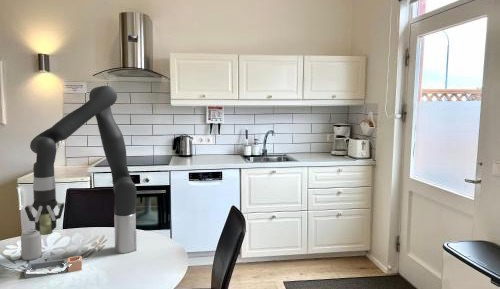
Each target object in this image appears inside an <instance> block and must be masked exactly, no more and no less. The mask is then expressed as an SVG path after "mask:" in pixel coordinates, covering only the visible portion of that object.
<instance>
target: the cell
mask: <svg viewBox="0 0 500 289" xmlns="http://www.w3.org/2000/svg"><path fill="white" fill-rule="evenodd" d="M39 229H40V235H41V236H47V235H51V234H53V231H54V230H52V218H51V216H50V214H49V213H43V214H40V217H39Z"/></svg>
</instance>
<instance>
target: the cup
mask: <svg viewBox="0 0 500 289" xmlns="http://www.w3.org/2000/svg"><path fill="white" fill-rule="evenodd" d="M82 257H83V256H81V255H77V256H70V257H68V258H67V259H68V264H72V265H71V266H70V267H69V268H68V267H67V272H69V273H71V272H78V271H79V272H80V271H81V270H83V268H82V266H83V258H82ZM79 258H80V260H77V259H79ZM75 260H77V261H75Z"/></svg>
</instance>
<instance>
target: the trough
mask: <svg viewBox="0 0 500 289" xmlns="http://www.w3.org/2000/svg"><path fill="white" fill-rule="evenodd" d="M67 262H68V258H63V259H54V260H46V261H40V262H32V263H27V266H26V269H27V270H30V269H31V268H32V269H31V270H38V269H42V268H51V267H50V266H52V267H57V266H56V265H59V266H61V265H60V264H62V263H64V264H65V263H67ZM26 269H25V270H26ZM67 272H68V268H67V269H65V270H64V271H61V272H58V273H47V274H26V273H25V272H24V279H29V278H36V277H42V276H50V275H56V274H65V273H67Z"/></svg>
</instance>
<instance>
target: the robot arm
mask: <svg viewBox="0 0 500 289" xmlns="http://www.w3.org/2000/svg"><path fill="white" fill-rule="evenodd" d="M88 96H89V97H88V98H89V100H87V101H86V102H85V103H84V104H82V105H81V106H79V107H78V108H76V109H74V110H73V111H71V112H69V113H68V114H66V115H65V116H63V117H62V118H60V119H59V120H58V121H57V122H55V124H53V125H52V126H51V127H49V128H47V129H46V130H44V131H42V132H41V133H39V134H37V135H36V136H35V137H34V138H33V139H32V140H31V141H30V144H29V148H30V150H31V151H32V153H35V154H36V158H35V159H36V161H35V162H34V163H33V165H32V166H33V171H32V172H33V182H32V184H33V185H32V190H33V203H32V204H30V205H29V204H28V205H25V207H24V211H25V213H26V215H27V218H28V220H29V222H34V227H35V228H34V229H36V230H37V231H40V229H39V217H40V214H43V213H49V214H50V216H51V218H52V230H53V231H54V230H55V229H56V228H57V220H58V219H61V218H62V214H63V212H64V208H65V202H58V201H57V199H56V198H57V197H56V196H57V191H56V179H55V178H56V177H55V162H56V157H57V143H59V142H61V141H65V140H67V139H68V138H70V137H71V136H72V135H73V134H74V133H75V132H76V131H78V130H79V129H80V128H82V127H83V125H85V124H86V123H88V121H90V120H92V118H94V117H95V119H96V122H97V123H96V124H97V128H98V132H99V135H100V136H99V137H100V140H101V145H102V149H103V151H104V152H103V153H104V155H105V158H106V161H107V164H108V166H109V169H110V174H111V179H112V189H113V193H114V213H113V214H114V218H113V220H114V221H113V222H114V252H116V253H119V254H127V253H132V252H133V251H137V246H138V245H137V228H136V227H137V226H136V225H137V223H136V220H137V218H136V217H137V215H136V214H137V213H136V210H137V186H136V184H135V182H133V180H132V177H131V175H130V174H131V173H130V172H129V168H128V163H127V162H128V161H127V160H128V158H127V156H128V155H127V148H126V144H125V139H124V136H123V133H122V131H121V129H120V127H119V125H118V124H117V123H116V120H115V118H114V116H113V113H112V108H111V106H114V104H115V103H116V102H117V99H118V95H117V91H116V90H115V89H114V88H113V86H112V87H111V86H109V85H101V86H96V87H94V88H92V89H91V90H90V92H89V95H88ZM56 207H57V209H59V210H58V214H55V211H54V210H55V208H56ZM33 209H34V210H35V212H37V213H36V216H35V217H34V215H33V213H32V212H33V211H32V210H33Z"/></svg>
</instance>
